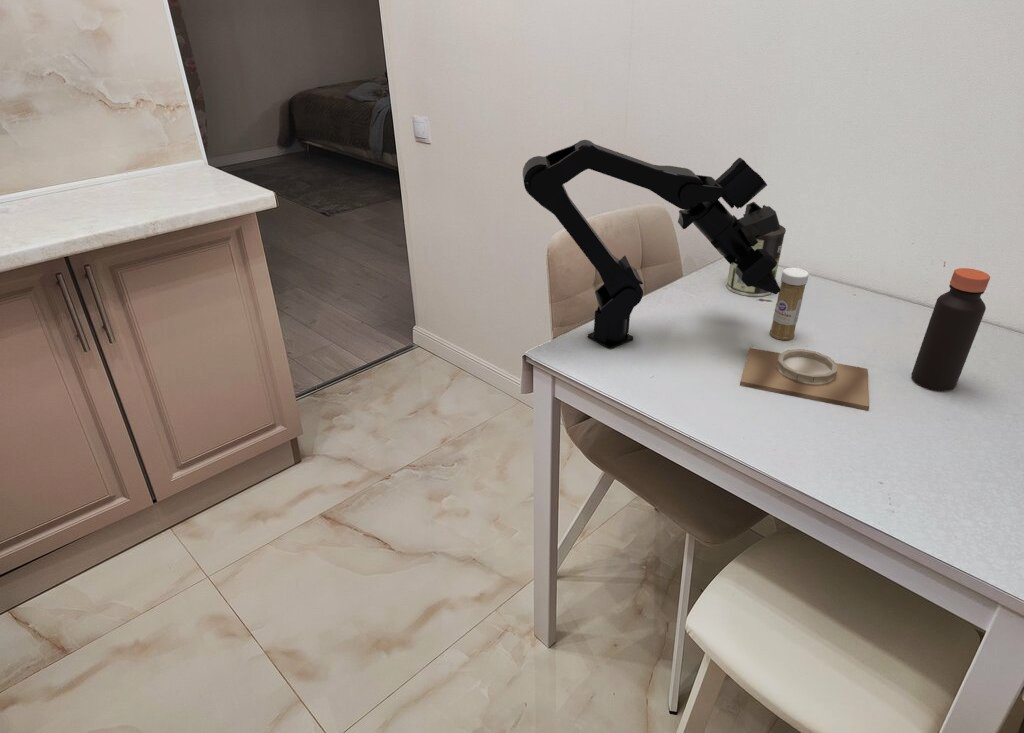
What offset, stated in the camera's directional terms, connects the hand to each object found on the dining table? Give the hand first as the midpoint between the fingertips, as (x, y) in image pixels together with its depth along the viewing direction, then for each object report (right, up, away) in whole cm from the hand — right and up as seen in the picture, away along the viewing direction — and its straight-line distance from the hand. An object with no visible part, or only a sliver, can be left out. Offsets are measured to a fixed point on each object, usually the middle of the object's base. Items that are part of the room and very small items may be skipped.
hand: (769, 282), depth 124 cm
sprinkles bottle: (+5, -10, +6) cm, 12 cm away
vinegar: (+25, -19, -9) cm, 32 cm away
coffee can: (+6, +2, +26) cm, 27 cm away
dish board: (+3, -18, -8) cm, 20 cm away
